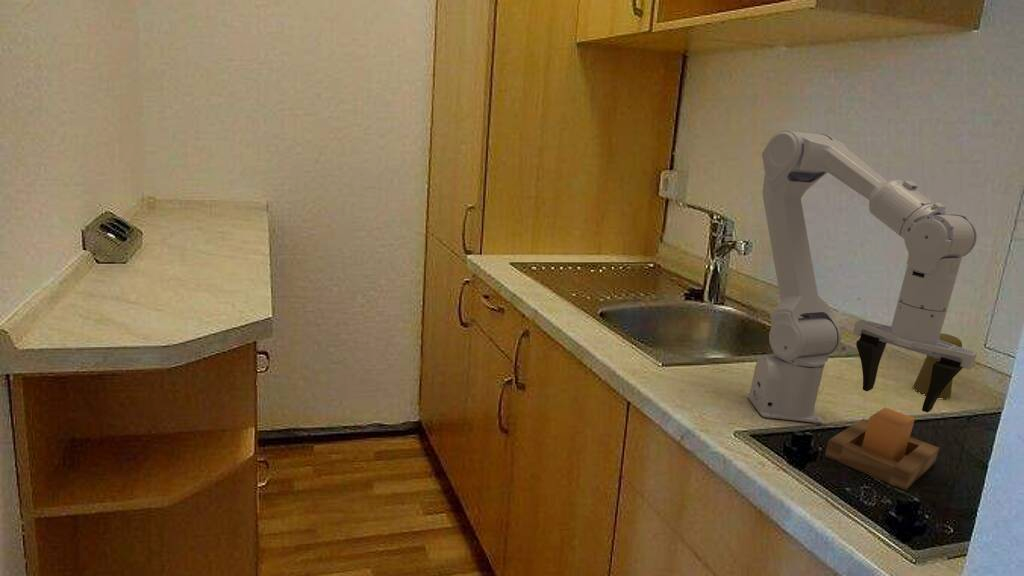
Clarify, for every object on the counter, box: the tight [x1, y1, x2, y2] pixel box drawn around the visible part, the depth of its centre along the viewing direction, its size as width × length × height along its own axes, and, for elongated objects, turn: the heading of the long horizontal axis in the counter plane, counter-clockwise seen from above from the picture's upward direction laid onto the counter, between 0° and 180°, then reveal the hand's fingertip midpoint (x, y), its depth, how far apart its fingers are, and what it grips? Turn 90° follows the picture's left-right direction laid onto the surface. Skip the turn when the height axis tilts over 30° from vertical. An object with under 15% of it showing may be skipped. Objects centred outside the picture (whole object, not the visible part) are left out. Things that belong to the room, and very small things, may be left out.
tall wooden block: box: [862, 407, 916, 462], centre depth 97 cm, size 6×4×6 cm, turn 134°
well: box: [824, 418, 940, 491], centre depth 98 cm, size 12×10×2 cm
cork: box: [912, 332, 963, 400], centre depth 126 cm, size 6×6×11 cm
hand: (896, 399), depth 96 cm, fingers open, 7 cm apart
